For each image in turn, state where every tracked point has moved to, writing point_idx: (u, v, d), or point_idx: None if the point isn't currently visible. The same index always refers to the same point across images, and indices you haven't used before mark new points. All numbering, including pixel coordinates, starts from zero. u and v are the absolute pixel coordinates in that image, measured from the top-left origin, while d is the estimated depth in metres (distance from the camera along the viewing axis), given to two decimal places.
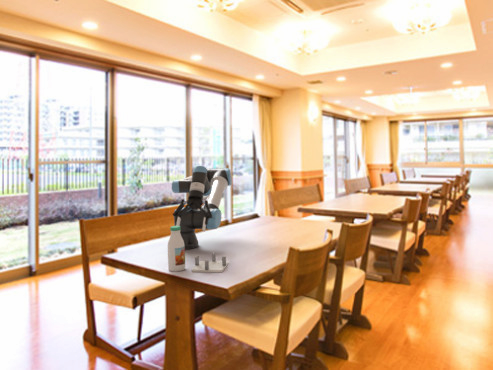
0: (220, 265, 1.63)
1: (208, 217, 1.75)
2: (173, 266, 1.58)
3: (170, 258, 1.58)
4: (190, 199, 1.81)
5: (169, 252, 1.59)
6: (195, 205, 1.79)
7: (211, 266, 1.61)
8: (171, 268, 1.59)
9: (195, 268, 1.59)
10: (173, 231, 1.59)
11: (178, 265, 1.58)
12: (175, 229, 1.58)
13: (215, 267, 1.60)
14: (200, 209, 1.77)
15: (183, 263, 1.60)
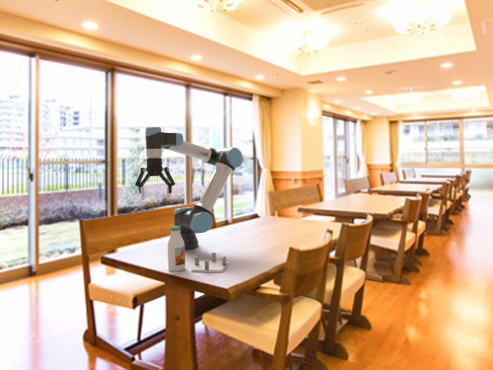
0: (220, 265, 1.63)
1: (171, 186, 1.75)
2: (173, 266, 1.58)
3: (170, 258, 1.58)
4: (149, 167, 1.75)
5: (169, 252, 1.59)
6: (155, 173, 1.75)
7: (211, 266, 1.61)
8: (171, 268, 1.59)
9: (195, 268, 1.59)
10: (173, 231, 1.59)
11: (178, 265, 1.58)
12: (175, 229, 1.58)
13: (215, 267, 1.60)
14: (161, 178, 1.75)
15: (183, 263, 1.60)
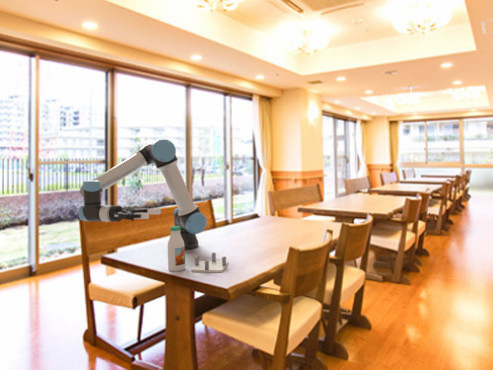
0: (220, 265, 1.63)
1: (132, 217, 1.54)
2: (173, 266, 1.58)
3: (170, 258, 1.58)
4: None
5: (169, 252, 1.59)
6: None
7: (211, 266, 1.61)
8: (171, 268, 1.59)
9: (195, 268, 1.59)
10: (173, 231, 1.59)
11: (178, 265, 1.58)
12: (175, 229, 1.58)
13: (215, 267, 1.60)
14: None
15: (183, 263, 1.60)
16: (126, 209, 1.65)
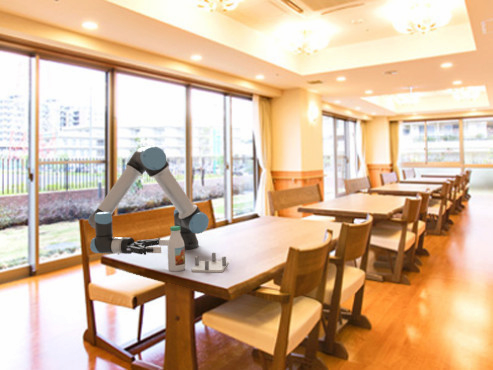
0: (220, 265, 1.63)
1: (144, 252, 1.54)
2: (173, 266, 1.58)
3: (170, 258, 1.58)
4: None
5: (169, 252, 1.59)
6: None
7: (211, 266, 1.61)
8: (171, 268, 1.59)
9: (195, 268, 1.59)
10: (173, 231, 1.59)
11: (178, 265, 1.58)
12: (175, 229, 1.58)
13: (215, 267, 1.60)
14: None
15: (183, 263, 1.60)
16: (138, 241, 1.64)
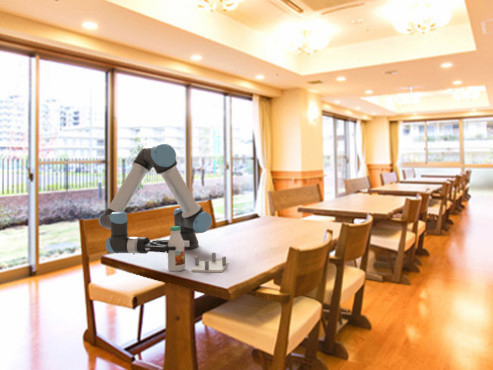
0: (220, 265, 1.63)
1: (167, 250, 1.56)
2: (173, 266, 1.58)
3: (170, 258, 1.58)
4: None
5: (169, 252, 1.59)
6: None
7: (211, 266, 1.61)
8: (171, 268, 1.59)
9: (195, 268, 1.59)
10: (173, 231, 1.59)
11: (178, 265, 1.58)
12: (175, 229, 1.58)
13: (215, 267, 1.60)
14: None
15: (183, 263, 1.60)
16: (153, 241, 1.64)
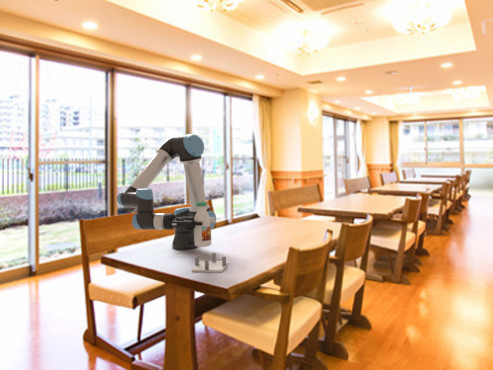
0: (220, 265, 1.63)
1: (194, 225, 1.56)
2: (200, 241, 1.58)
3: (196, 234, 1.58)
4: None
5: (195, 228, 1.58)
6: None
7: (211, 266, 1.61)
8: (197, 244, 1.58)
9: (195, 268, 1.59)
10: (199, 207, 1.58)
11: (204, 240, 1.58)
12: (201, 204, 1.58)
13: (215, 267, 1.60)
14: None
15: (209, 239, 1.60)
16: (179, 217, 1.64)
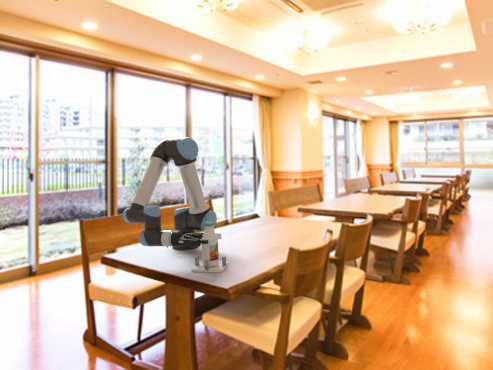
0: (220, 265, 1.63)
1: (199, 243, 1.56)
2: None
3: (204, 253, 1.60)
4: None
5: (203, 248, 1.60)
6: None
7: None
8: None
9: (195, 268, 1.59)
10: (207, 227, 1.61)
11: (212, 260, 1.60)
12: (209, 225, 1.61)
13: (215, 267, 1.60)
14: None
15: (217, 259, 1.62)
16: (187, 234, 1.65)
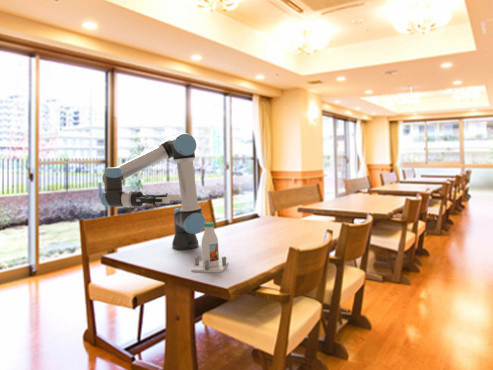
0: (220, 265, 1.63)
1: (154, 202, 1.61)
2: None
3: (204, 254, 1.60)
4: None
5: (203, 248, 1.60)
6: None
7: None
8: None
9: (195, 268, 1.59)
10: (207, 227, 1.60)
11: (212, 261, 1.60)
12: (209, 225, 1.60)
13: (215, 267, 1.60)
14: None
15: (217, 259, 1.62)
16: (147, 195, 1.71)
